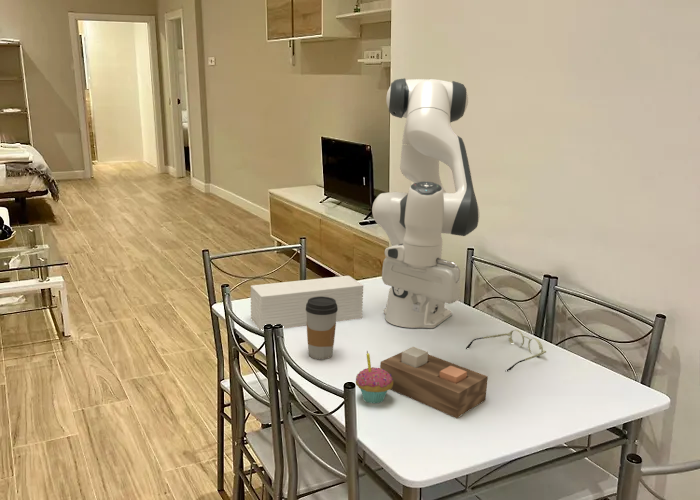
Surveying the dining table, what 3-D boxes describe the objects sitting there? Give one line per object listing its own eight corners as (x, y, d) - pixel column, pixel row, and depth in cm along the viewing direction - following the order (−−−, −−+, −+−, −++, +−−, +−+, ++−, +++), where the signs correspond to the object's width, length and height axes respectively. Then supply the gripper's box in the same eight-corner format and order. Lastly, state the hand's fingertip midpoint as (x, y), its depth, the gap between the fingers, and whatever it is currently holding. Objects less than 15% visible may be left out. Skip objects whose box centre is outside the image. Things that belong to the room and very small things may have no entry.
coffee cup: (332, 363, 167) (333, 307, 163) (300, 359, 168) (301, 304, 164) (339, 350, 174) (341, 297, 171) (309, 346, 176) (310, 294, 172)
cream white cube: (412, 361, 158) (413, 346, 157) (426, 367, 155) (427, 352, 154) (401, 367, 155) (401, 351, 154) (415, 373, 152) (416, 357, 151)
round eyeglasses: (549, 362, 172) (551, 345, 171) (506, 374, 165) (508, 355, 164) (504, 340, 187) (506, 324, 185) (463, 349, 179) (465, 332, 178)
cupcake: (361, 409, 144) (363, 359, 141) (350, 391, 152) (352, 344, 149) (397, 405, 146) (400, 356, 143) (385, 388, 154) (387, 341, 151)
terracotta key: (449, 381, 151) (450, 365, 150) (465, 387, 149) (466, 371, 148) (438, 387, 148) (439, 371, 147) (454, 393, 145) (456, 377, 144)
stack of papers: (347, 307, 208) (348, 275, 205) (362, 318, 199) (363, 285, 196) (250, 319, 195) (250, 285, 192) (261, 332, 186) (261, 296, 183)
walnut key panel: (409, 369, 164) (411, 347, 163) (485, 400, 150) (487, 376, 148) (379, 384, 156) (380, 361, 154) (456, 418, 141) (458, 393, 140)
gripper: (468, 261, 144) (463, 319, 147) (396, 243, 157) (393, 297, 160) (452, 266, 139) (447, 326, 143) (379, 247, 152) (376, 303, 156)
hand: (418, 311), depth 152 cm, fingers closed
